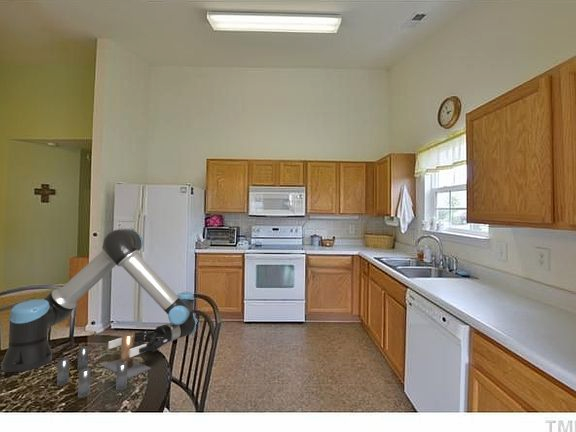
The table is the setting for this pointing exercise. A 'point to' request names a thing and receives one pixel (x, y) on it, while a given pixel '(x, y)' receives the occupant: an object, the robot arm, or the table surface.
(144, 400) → the table surface
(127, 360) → the cylinder
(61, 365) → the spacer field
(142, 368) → the rubber mat
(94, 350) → the table surface
